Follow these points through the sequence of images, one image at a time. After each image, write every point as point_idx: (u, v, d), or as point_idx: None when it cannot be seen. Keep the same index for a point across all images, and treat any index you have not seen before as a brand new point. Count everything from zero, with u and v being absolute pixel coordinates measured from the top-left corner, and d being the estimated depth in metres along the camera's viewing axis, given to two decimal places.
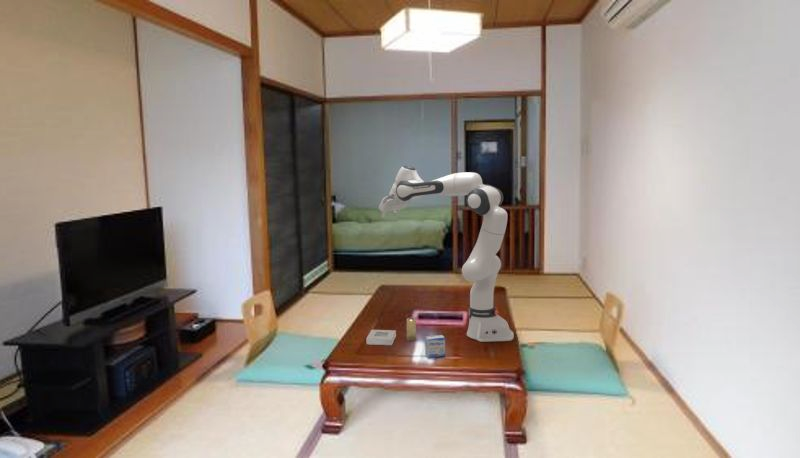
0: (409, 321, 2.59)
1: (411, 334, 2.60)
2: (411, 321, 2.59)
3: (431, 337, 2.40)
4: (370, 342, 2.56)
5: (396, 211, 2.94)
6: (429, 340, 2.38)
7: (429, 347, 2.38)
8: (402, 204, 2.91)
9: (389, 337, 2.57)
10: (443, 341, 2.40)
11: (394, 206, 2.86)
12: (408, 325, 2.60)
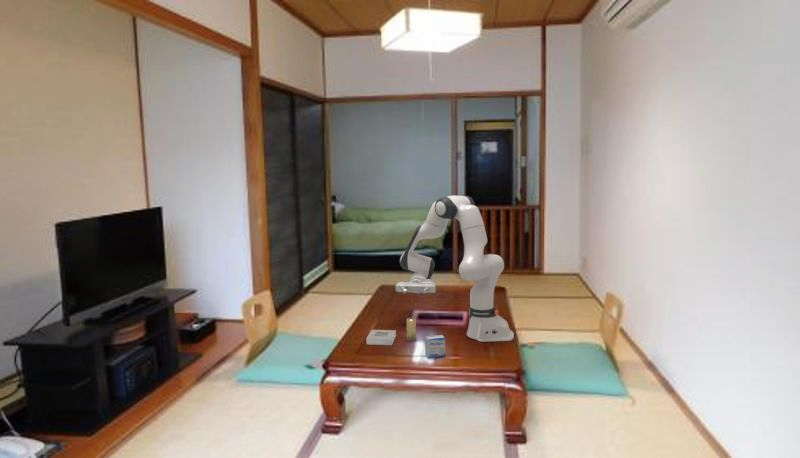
0: (409, 321, 2.59)
1: (411, 334, 2.60)
2: (411, 321, 2.59)
3: (431, 337, 2.40)
4: (370, 342, 2.56)
5: None
6: (429, 340, 2.38)
7: (429, 347, 2.38)
8: (426, 284, 2.78)
9: (389, 337, 2.57)
10: (443, 341, 2.40)
11: (412, 284, 2.78)
12: (408, 325, 2.60)
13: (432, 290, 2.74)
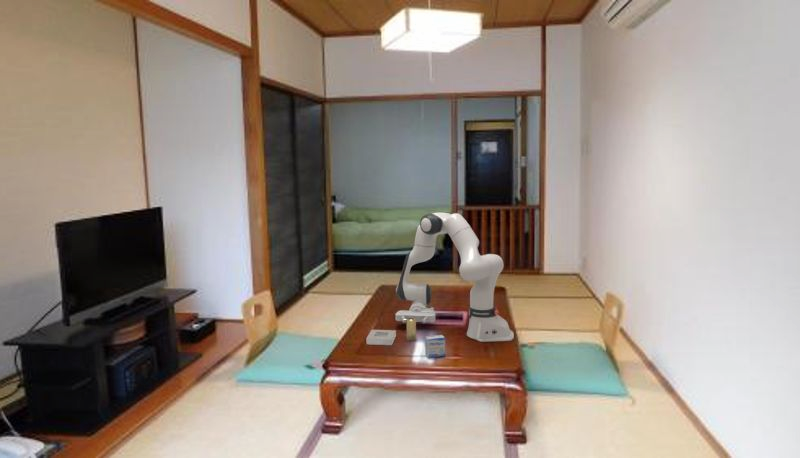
0: (409, 321, 2.59)
1: (411, 334, 2.60)
2: (411, 321, 2.59)
3: (431, 337, 2.40)
4: (370, 342, 2.56)
5: None
6: (429, 340, 2.38)
7: (429, 347, 2.38)
8: (425, 313, 2.76)
9: (389, 337, 2.57)
10: (443, 341, 2.40)
11: (412, 313, 2.77)
12: (408, 325, 2.60)
13: (432, 319, 2.73)
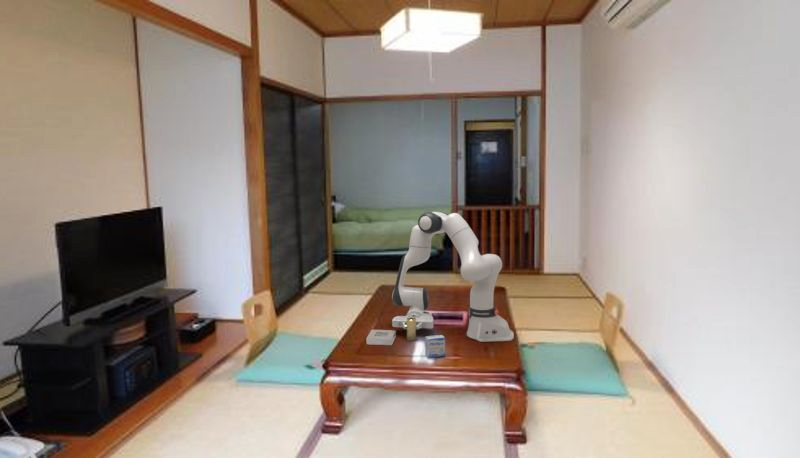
0: (409, 321, 2.59)
1: (411, 334, 2.60)
2: (411, 321, 2.59)
3: (431, 337, 2.40)
4: (370, 342, 2.56)
5: None
6: (429, 340, 2.38)
7: (429, 347, 2.38)
8: (423, 319, 2.67)
9: (389, 337, 2.57)
10: (443, 341, 2.40)
11: None
12: (408, 325, 2.60)
13: (430, 325, 2.64)
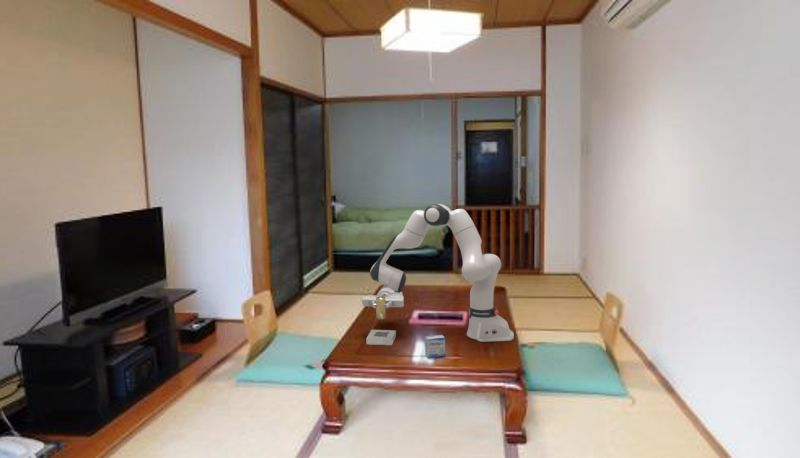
0: (378, 299, 2.57)
1: (380, 313, 2.57)
2: (380, 299, 2.56)
3: (431, 337, 2.40)
4: (370, 342, 2.56)
5: None
6: (429, 340, 2.38)
7: (429, 347, 2.38)
8: (393, 298, 2.65)
9: (389, 337, 2.57)
10: (443, 341, 2.40)
11: None
12: (377, 303, 2.57)
13: (400, 304, 2.61)
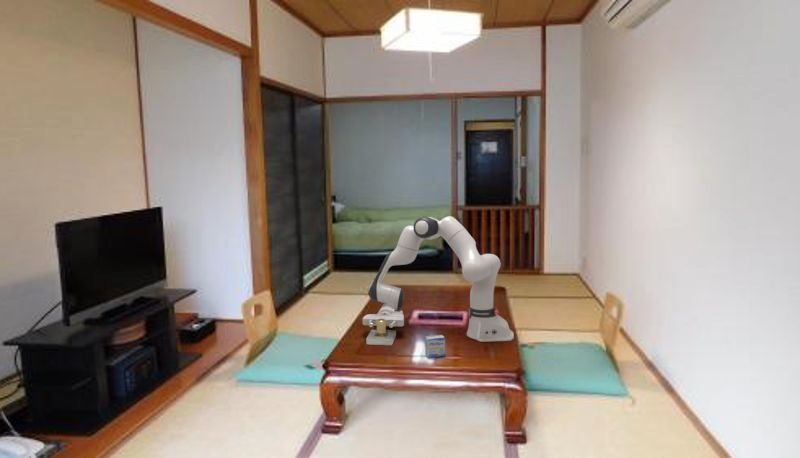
0: (379, 322, 2.58)
1: (381, 335, 2.59)
2: (381, 322, 2.58)
3: (431, 337, 2.40)
4: (370, 342, 2.56)
5: None
6: (429, 340, 2.38)
7: (429, 347, 2.38)
8: (394, 317, 2.66)
9: (389, 337, 2.57)
10: (443, 341, 2.40)
11: (380, 317, 2.67)
12: (378, 326, 2.59)
13: (400, 324, 2.63)
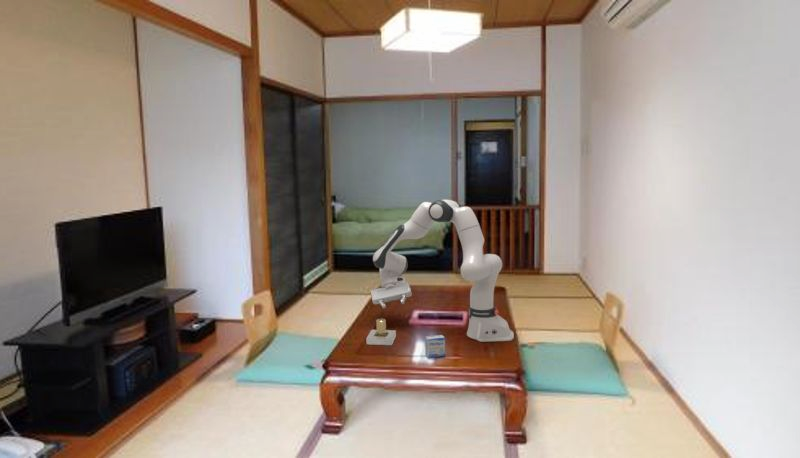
0: (379, 322, 2.58)
1: (381, 335, 2.59)
2: (381, 322, 2.58)
3: (431, 337, 2.40)
4: (370, 342, 2.56)
5: None
6: (429, 340, 2.38)
7: (429, 347, 2.38)
8: (400, 289, 2.77)
9: (389, 337, 2.57)
10: (443, 341, 2.40)
11: (387, 292, 2.77)
12: (378, 326, 2.59)
13: (409, 295, 2.76)
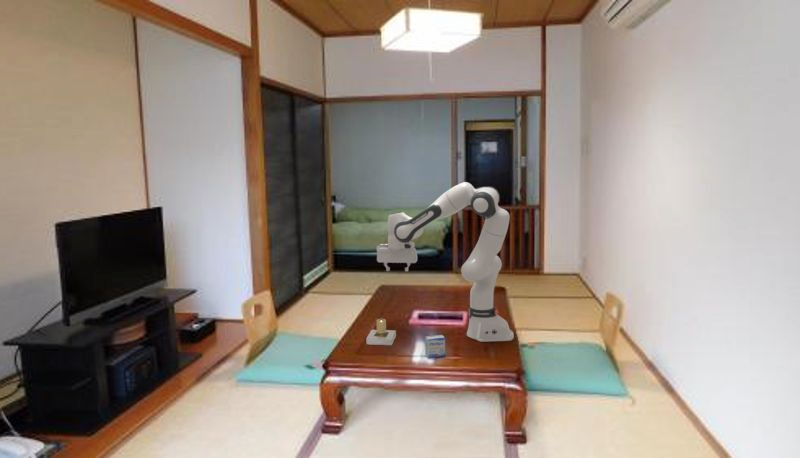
0: (379, 322, 2.58)
1: (381, 335, 2.59)
2: (381, 322, 2.58)
3: (431, 337, 2.40)
4: (370, 342, 2.56)
5: (407, 266, 2.75)
6: (429, 340, 2.38)
7: (429, 347, 2.38)
8: (406, 256, 2.72)
9: (389, 337, 2.57)
10: (443, 341, 2.40)
11: (393, 257, 2.73)
12: (378, 326, 2.59)
13: None
